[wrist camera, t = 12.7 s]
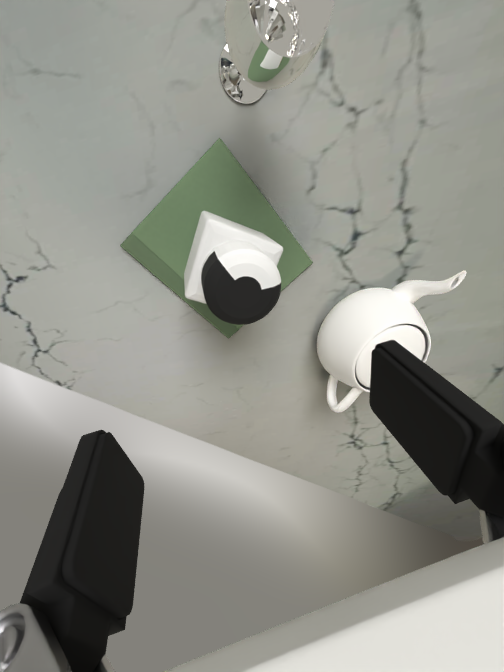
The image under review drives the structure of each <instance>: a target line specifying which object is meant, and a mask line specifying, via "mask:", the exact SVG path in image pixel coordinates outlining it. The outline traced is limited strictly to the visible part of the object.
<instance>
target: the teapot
mask: <svg viewBox="0 0 504 672" xmlns="http://www.w3.org/2000/svg"><path fill="white" fill-rule="evenodd" d="M465 276H466V271H462V272H460V273H458V274H457V275H455V276H453V277H451V278H449V279H447V280H443V281H423V280H409V281H404V282H402V283H400V284H398V285H396V286H394V287H393V288H392V289H387V288H381V287H379V288H367V289H363V290H359V291H357V292H355V293H353V294H350V295H349V296H347V297H346V298H344V299H343V300H341V301H340V302H339V303H338V304H337V305H335V306H334V307H333V308H332V310H331V311H330V312H329V313H328V315H327V316H326V318H325V319H324V321H323V323H322V325H321V327H320V330H319V333H318V337H317V354H318V357H319V360H320V362H321V364H322V365H323V367H324V368H325V370H326V371H327V372H329V373H330V377H329V381H328V385H327V402H328V405H329V407H330V408H331V410H332V411H334V412H337V413H340V412H343V411H345V410H346V409H347V408H348V407H349V406H350V405H351V404H352V403H353V402H354V401H355V400H356V398H357V397H358V396H359V395H360V394H361V393H362V391H365V392H369V393H370V377H371V353H372V350H374V349H375V346H376V345H377V344H379V343H382V342H386V341H389V340H395V341H396V342H398V343H399V344H400V345H402V346H403V347H404V348H406V349H407V350H408V351H410V352H411V353H412V354H413V355H415V356H416V357H417V358H419V359H420V360H421V361H423V362H424V363H425V361H426V360H427V358H428V355H429V352H430V347H431V338H430V334H429V331H428V329H427V327H426V325H425V323H424V321H423V319H422V317H421V315H420V314H419V312H418V311H417V309H416V308H415V306H414V305H413V303H414V302H415V301H416V300H418V299H419V298H420V297H422V296H425V295H429V294H443V293H446V292H449V291H451V290H453V289H454V288H455V287H457V286H458V285H459V284H460V283H461V282H462V280H463V279H464V277H465ZM338 380H339V381H341V382H343V383H345V384H347V385H349V386H351V387H353V388H352V389H351V390H350V392H349V393H348V394H347V395H346V396H345V398H344V399H343V400H342V401H341V402H340V403H339V404H338V402H337V398H336V388H337V383H338Z"/></svg>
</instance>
